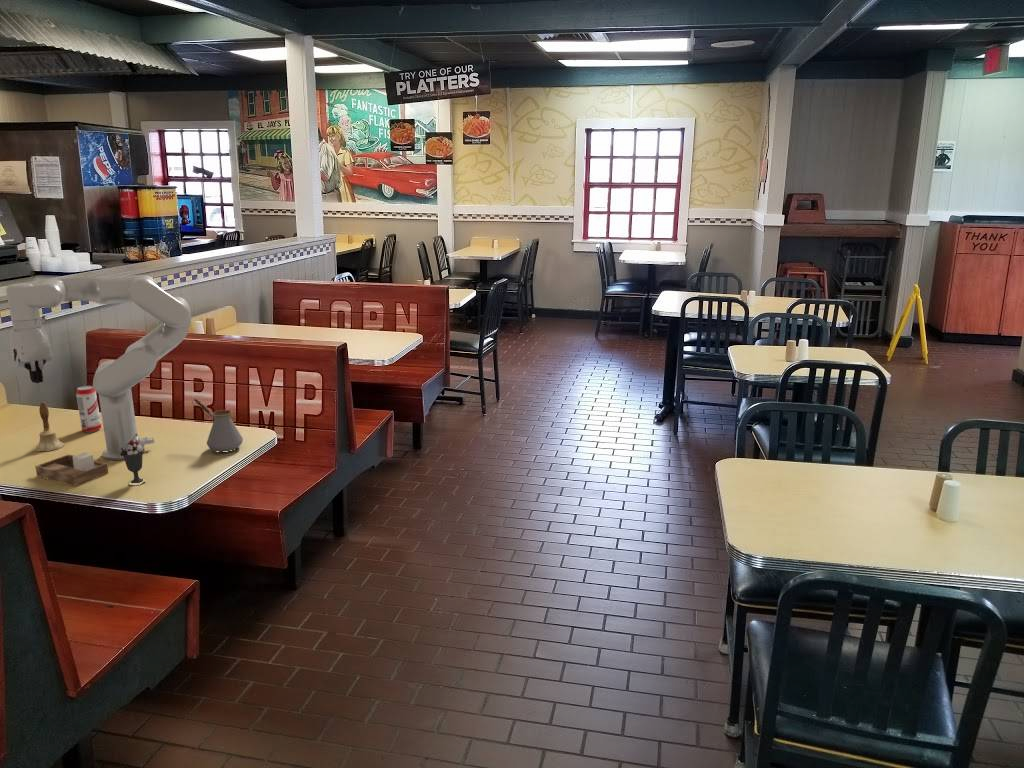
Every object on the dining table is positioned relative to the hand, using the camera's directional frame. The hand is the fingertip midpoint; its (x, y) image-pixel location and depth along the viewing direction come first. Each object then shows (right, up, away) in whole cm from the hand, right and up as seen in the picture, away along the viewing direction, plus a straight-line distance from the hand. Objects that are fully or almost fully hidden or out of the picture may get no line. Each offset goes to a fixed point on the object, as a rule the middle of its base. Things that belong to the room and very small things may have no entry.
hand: (37, 381), depth 239 cm
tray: (+12, -29, -1) cm, 31 cm away
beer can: (-3, -18, +37) cm, 41 cm away
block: (+16, -27, -2) cm, 31 cm away
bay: (+16, -29, -1) cm, 33 cm away
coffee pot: (+47, -22, +23) cm, 57 cm away
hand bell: (-9, -22, +21) cm, 32 cm away
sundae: (+35, -31, -7) cm, 47 cm away
